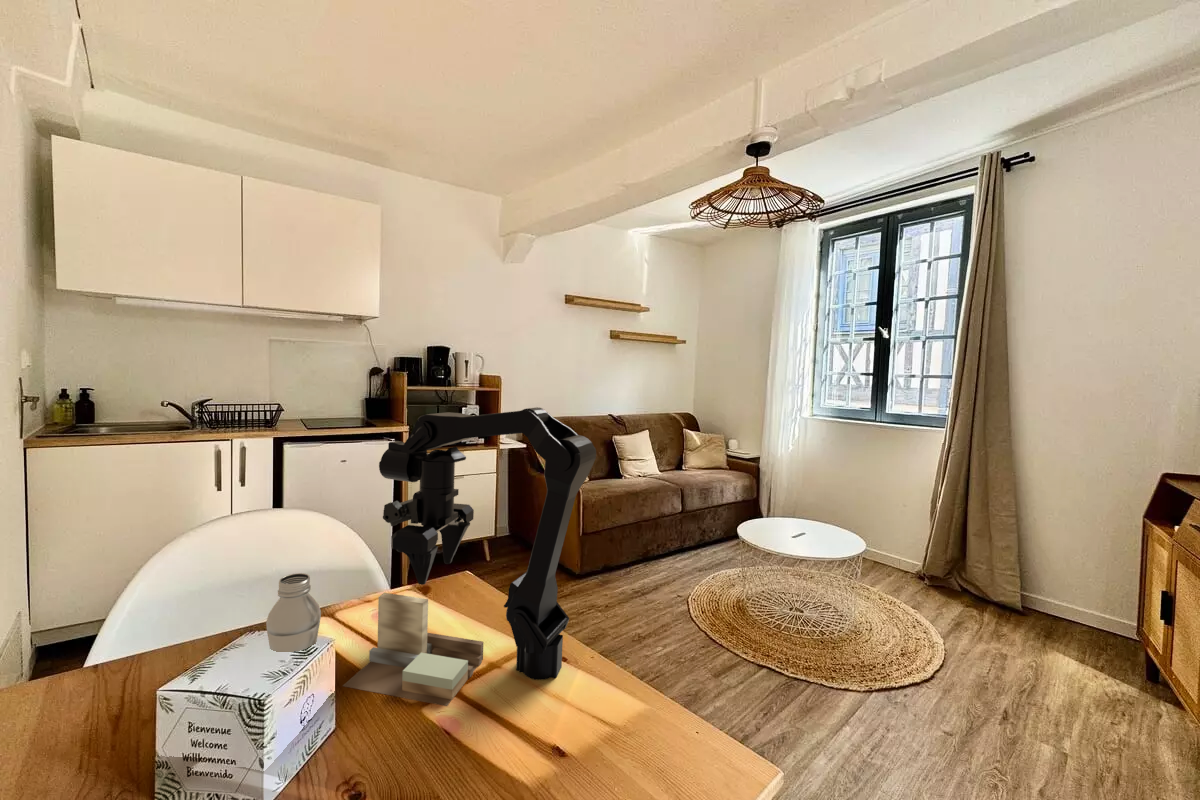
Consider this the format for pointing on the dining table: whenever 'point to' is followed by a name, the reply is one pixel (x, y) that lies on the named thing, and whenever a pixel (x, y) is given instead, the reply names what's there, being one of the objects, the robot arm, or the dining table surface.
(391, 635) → the birch sheet
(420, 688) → the oak offcut
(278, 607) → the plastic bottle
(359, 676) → the walnut rack
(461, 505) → the robot arm
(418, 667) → the sage offcut
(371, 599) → the dining table surface
